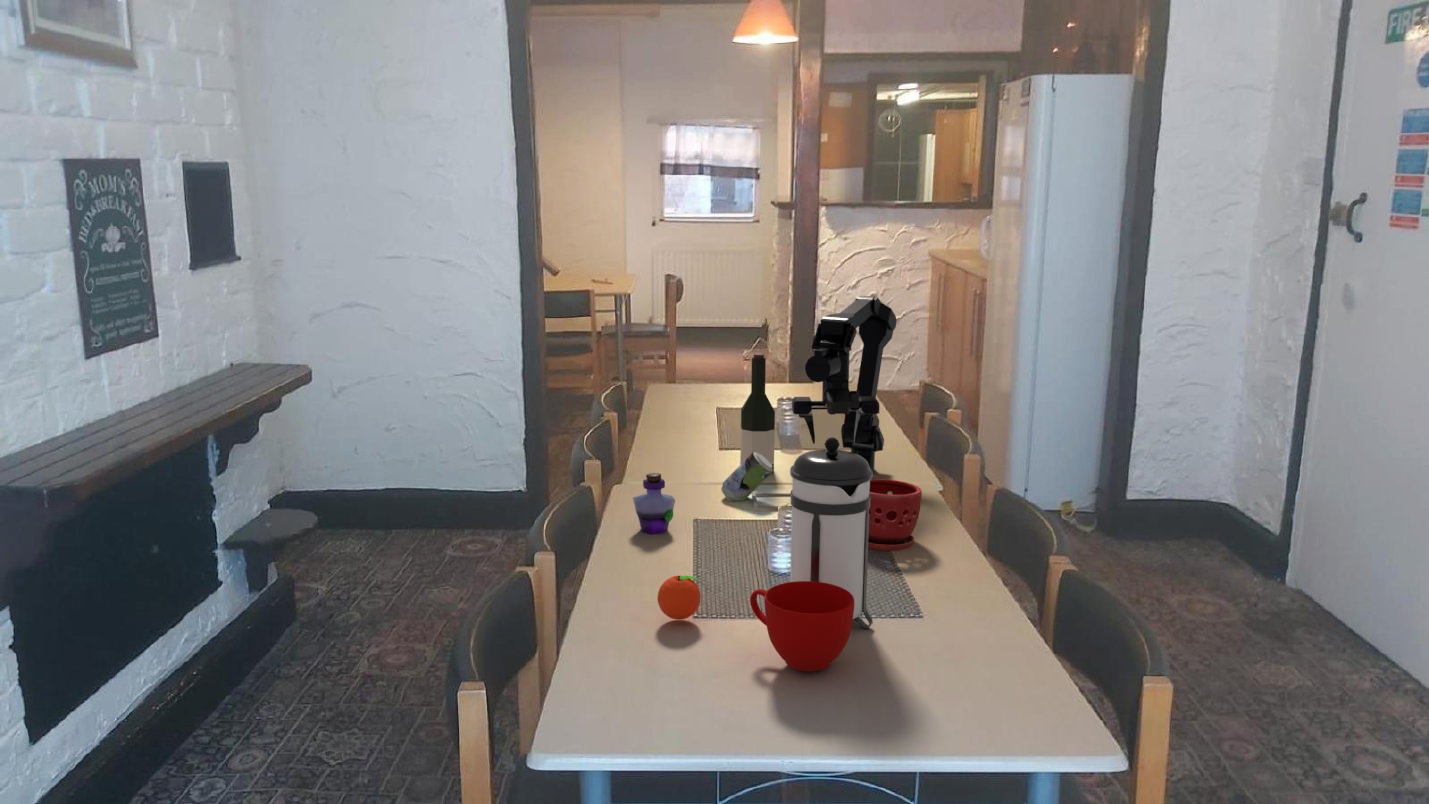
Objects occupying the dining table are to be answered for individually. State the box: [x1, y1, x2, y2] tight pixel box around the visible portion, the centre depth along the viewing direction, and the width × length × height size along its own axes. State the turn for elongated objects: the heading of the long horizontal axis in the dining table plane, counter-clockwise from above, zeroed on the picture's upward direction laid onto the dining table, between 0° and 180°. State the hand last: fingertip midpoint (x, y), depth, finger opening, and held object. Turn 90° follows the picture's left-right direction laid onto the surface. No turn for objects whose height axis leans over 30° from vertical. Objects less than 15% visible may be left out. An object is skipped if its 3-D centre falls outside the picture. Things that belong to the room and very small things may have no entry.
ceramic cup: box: [749, 581, 854, 672], centre depth 158 cm, size 13×17×10 cm
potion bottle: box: [632, 472, 676, 535], centre depth 215 cm, size 9×9×12 cm
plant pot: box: [868, 478, 923, 552], centre depth 209 cm, size 13×13×12 cm
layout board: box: [751, 492, 893, 512], centre depth 233 cm, size 12×33×2 cm, turn 91°
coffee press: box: [789, 436, 874, 630], centre depth 172 cm, size 17×16×30 cm
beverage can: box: [720, 452, 773, 503], centre depth 234 cm, size 6×7×12 cm
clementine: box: [657, 575, 706, 620], centre depth 173 cm, size 8×7×7 cm
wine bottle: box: [739, 352, 776, 474], centre depth 253 cm, size 8×8×30 cm
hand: (834, 443), depth 239 cm, fingers open, 9 cm apart
